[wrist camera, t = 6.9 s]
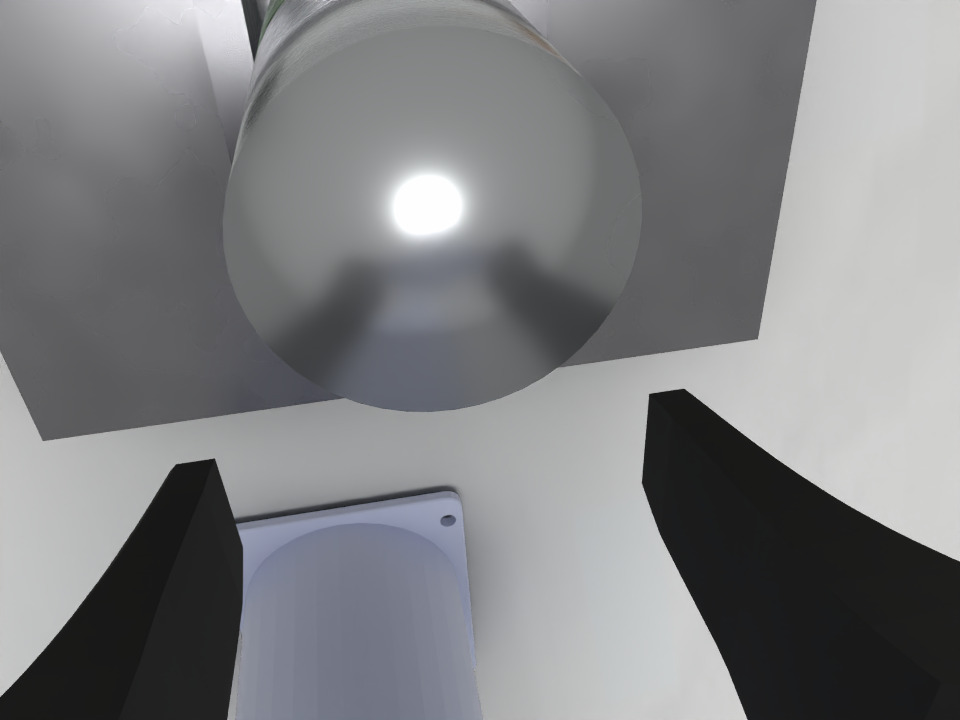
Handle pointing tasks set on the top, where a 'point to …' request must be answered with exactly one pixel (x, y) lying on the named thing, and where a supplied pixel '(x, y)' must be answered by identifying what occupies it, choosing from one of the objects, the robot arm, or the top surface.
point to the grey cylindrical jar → (425, 201)
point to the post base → (208, 161)
